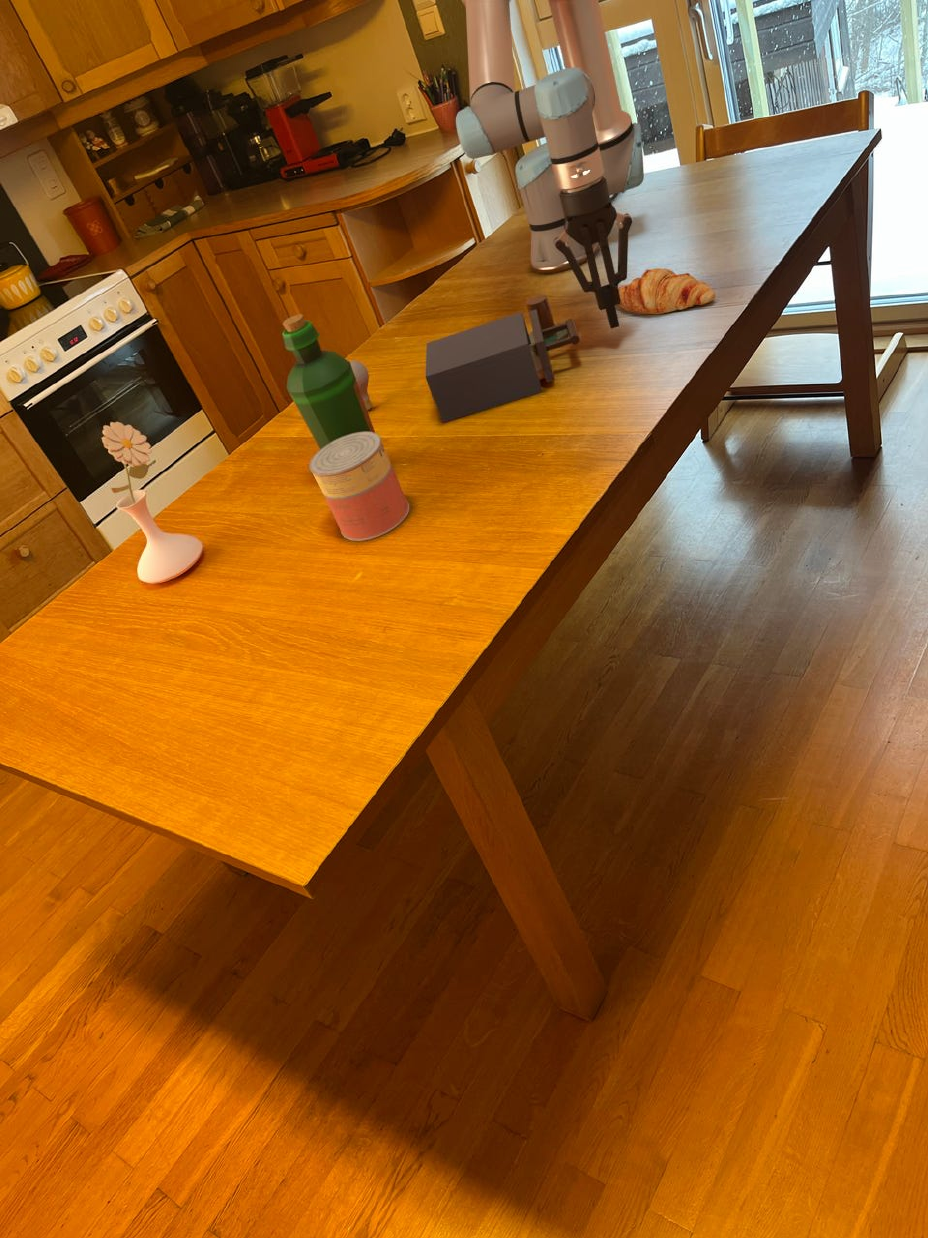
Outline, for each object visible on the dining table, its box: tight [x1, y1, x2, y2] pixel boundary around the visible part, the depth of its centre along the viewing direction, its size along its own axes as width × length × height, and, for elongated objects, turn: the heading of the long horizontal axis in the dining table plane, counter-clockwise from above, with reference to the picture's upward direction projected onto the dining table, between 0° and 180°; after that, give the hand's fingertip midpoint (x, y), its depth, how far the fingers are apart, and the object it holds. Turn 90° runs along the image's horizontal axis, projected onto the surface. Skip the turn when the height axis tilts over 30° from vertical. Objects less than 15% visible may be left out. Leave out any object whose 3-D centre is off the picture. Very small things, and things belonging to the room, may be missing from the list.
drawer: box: [528, 310, 581, 383], centre depth 157 cm, size 24×15×7 cm, turn 90°
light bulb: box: [348, 360, 373, 412], centre depth 169 cm, size 6×6×10 cm
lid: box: [525, 294, 569, 344], centre depth 168 cm, size 9×9×8 cm
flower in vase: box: [101, 421, 204, 585], centre depth 141 cm, size 13×11×25 cm
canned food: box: [308, 432, 410, 542], centre depth 135 cm, size 11×11×12 cm
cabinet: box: [425, 311, 543, 424], centre depth 158 cm, size 18×15×9 cm
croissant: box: [618, 267, 716, 315], centre depth 163 cm, size 21×10×8 cm, turn 52°
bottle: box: [281, 313, 376, 450], centre depth 143 cm, size 11×11×28 cm
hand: (614, 324), depth 154 cm, fingers closed
